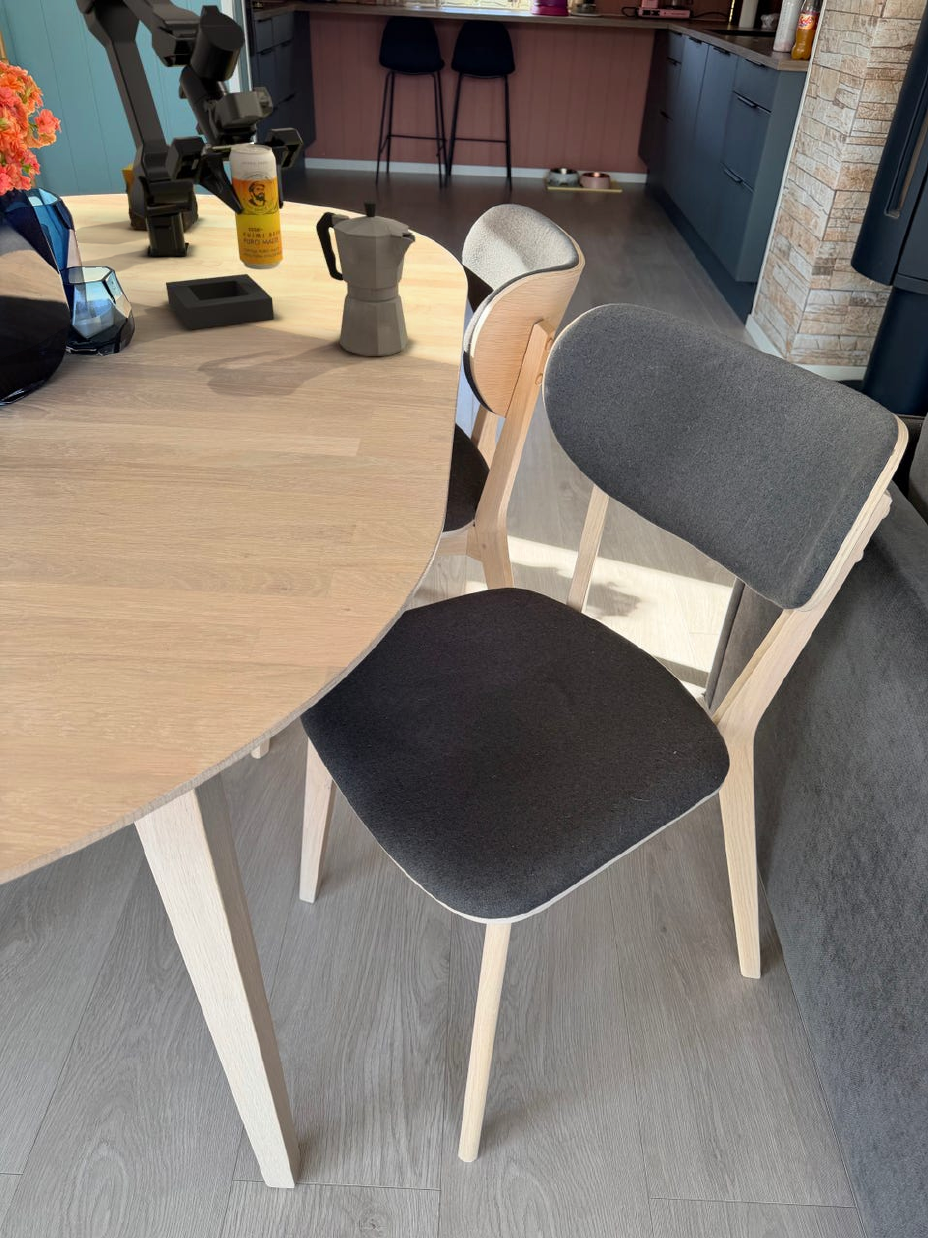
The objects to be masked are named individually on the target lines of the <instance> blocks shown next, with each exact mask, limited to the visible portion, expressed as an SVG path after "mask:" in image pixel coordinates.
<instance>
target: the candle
mask: <svg viewBox="0 0 928 1238" xmlns="http://www.w3.org/2000/svg"><path fill="white" fill-rule="evenodd" d="M133 164H134V161H133V162H131V163H130V164H128V166H126V167H124V168H122V169H121V172H122V177H123V180H124V183H125V193H126V195H127V203H128V217H129V221H130V227H131V228H132V229H134V230H137V231H138V230H139V231H148V230H147V224H146V218H143V217H141V216H139V215H137V214H135V213H133V211H132V208H131V204H130V201H129V197H130V193H131V189H132V186H133V182H134V175H133V171H132V168H133ZM191 181H192V180H191ZM192 184H193V182H192ZM198 204H199V203H198V201H197V196H196V192H195V185H194V184H193V204H192V212H183V213H181V219H182V226H183V232H186V231H188V230H189V229H191V227H192V226H193V225H194V224H195V223H196V222H197V221H198V220H199V205H198Z"/></svg>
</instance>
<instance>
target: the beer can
mask: <svg viewBox="0 0 928 1238" xmlns="http://www.w3.org/2000/svg"><path fill="white" fill-rule="evenodd" d="M228 163H229V171H230V182H231V184H232V186H233V188H234V190H235V192H236V194H237V196H238V198H239V201H240V204H241V206H242V209H243V211H242V214H241V215H238V214H237V213H236V212H234V219H235V228H236V237H237V238H236V239H237V247H238V248H237V249H238V255H239V256H238V258H239V260H240V262H242V263H243V265H244V267H246V268H248V269H251V270H252V269H253V270H259V271H260V270H271V269H276V268H277V267H279V266H280V265H281V262H282V261H283V260H284V255H283V242H282V228H281V216H280V209H279V201H278V187H277V174H276V161H275V156H274V154H273V152H272V149H271V148H270V147H268V146H263V145H238V146H234V147H232V148H231V153H230V156H229V162H228Z"/></svg>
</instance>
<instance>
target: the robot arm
mask: <svg viewBox="0 0 928 1238" xmlns="http://www.w3.org/2000/svg"><path fill="white" fill-rule="evenodd" d="M75 3H76V7H77V9H78V11H79V13H80V14H82V17H83V20H84V22H85V25H86V28H87V30H88V32H89V33H90V34H91V35H92V37H94V38H95V39H96V40H97V42H99V43H100V45H101V46H102V47H103V48H104V49H105V53H106V55H107V59H108V62H109V65H110V69H111V72H112V75H113V78H114V82H115V84H116V88H117V92H118V94H119V97H120V102H121V104H122V108H123V111H124V114H125V117H126V119H127V123H128V126H129V130H130V133H131V136H132V139H133V143H134V146H135V155H134V159H133V162H134V164H133V168H132V171H133V175H134V182H133V186H132V189H131V193H130V197H129V201H130V204H131V208H132V211H133V213H135V214H137V215H139V216H141V217H143V218H146V224H147V230H146V231H147V236H148V240H149V245H148V248H147V250H146V252H145V253H146V256H147V257H180V256H181V257H184V256H185V257H186V256H188V254H189V249H190V243H189V242H186V241H185V234H184V231H183V226H182V219H181V213H183V212H192V204H193V184H194V186H198V185H199V186H201V187H202V188H204V189H205V190H206V191H208V192H209V193H211V194H212V195H213V196H215V197H216V198H217V199H219V200H220V201H221V202H222V203H223V204H224V205H226V206H227V207H228V208H229V209H230V210H232V211H233V212H234V213H235V212H236V213H237V214H238V215H241V214H242V211H243V209H242V206H241V204H240V201H239V198H238V196H237V194H236V192H235V190H234V188H233V186H232V181H231V179H230V178H229V176H228V174H227V172H226V170H225V166H224V163H230V162H229V156H230V153H231V148H232V147H234V146H238V145H263V146H268V147H270V148H271V149H272V152H273V154H274V156H275V161H276V174H277V187H278V201H279V210H282V209H283V207H284V205H285V203H284V193H283V183H282V182H283V181H282V171H284V170H289V169H290V168H291V167H293V166H294V163H295V161H296V159H297V157H298V155H299V153H300V151H301V149H302V147H303V145H304V142H303V140H302V138H301V135H300V133H299V132H298V130H297V129H296V128H293V127H284V128H282V127H281V128H271V129H269V131H268V133H267V136H266V138H265V140H264V141H257V142H254V141H253V139H252V137H255V136H256V134H257V132H258V128H257V125H256V124H257V123H259V122H260V121H264V120H265V119H266V117H268V116H269V115H270V114H271V113H273V112H274V104H273V101H272V97H271V96H270V94H269V92H268V90H267V88H266V87H265V86H258V87H253V88H252V90H249V91H237V92H236V91H234V92H230V90H229V88H228V85H227V84H226V82H227V81H229V80H230V79H232V77H233V76H234V74H235V71H236V69H237V65H238V62H239V59H240V57H241V54H242V51H243V49H244V45H245V42H246V35H245V32H244V29H243V27H242V26H241V25H239V24H238V22H237V21H236V20H234V19H233V18H232V17H231V16H229V15H227V14H225V13H223V12H221V11H220V9H219V7H218V5H217V4H203V5H202V7H201V10H200V15H199V14H197V13H196V12H194V11H192V10H190V9H186V8H183V7H179V6H177V5H176V4H174V3H173V2H172V0H75ZM140 22H141V23H142V25H143V26H144V27H146V29H147V30H148V31H149V33H150V35H151V48H152V50H153V51H154V53H155V55H156V57H158V59H159V60H160V62H161V63H162V65H163V66H164V67H166V68H182V70H181V72H180V75H179V78H178V83H179V86H178V90H177V91H178V98H179V99H180V100H187V102H188V105H189V106H190V108H191V110H192V113H193V116H194V117H195V119H196V121H197V123H196V126H195V130H196V133H197V135H192V136H191V135H190V136H180V137H179V136H178V137H173V138H172V140H171V143H170V144H169V143H168V142H167V140H166V137H165V133H164V130H163V127H162V123H161V121H160V117H159V114H158V110H157V107H156V104H155V101H154V98H153V97H154V96H153V95H152V90H151V87H150V84H149V81H148V76H147V74H146V70H145V67H144V64H143V60H142V57H141V54H140V53H141V52H140V51H139V47H138V43H137V39H136V38H137V34H138V29H139V25H140ZM201 136H202V137H201ZM203 137H204V139H205V140H204V139H203ZM204 141H206V142H204ZM191 180H192V181H191ZM192 182H193V184H192Z"/></svg>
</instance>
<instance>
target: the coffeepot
mask: <svg viewBox="0 0 928 1238" xmlns="http://www.w3.org/2000/svg"><path fill="white" fill-rule="evenodd" d="M363 206H364V209H365V215H363V216H357V217H351V218H350V217H349V215H346V214H341V213H335V212H331V211H325V212H324V213H323V214H322V215H321V217H320V218H319V220H318V221H317V223H316V225H315V231H316V235H317V238H318V240H319V243H320V246H321V250H322V254H323V257H324V261H325V264H326V267H327V270H328V273H329V276H330V278H332V279H334V280H336V281H340V282H342V281H344V282H345V283H346V289H347V293H346V295H345V297H344V302H343V309H342V318H341V319H342V320H341V327H340V336H339V345H340V346H341V347H342V348H343V349H344V350H345V351H347V352H348V353H351V354H354V355H358V356H363V357H364V356H365V357H384V356H391V355H395V354H399V353H400V352H402V351H404V349H405V348H406V347H407V344H408V342H409V338H408V332H407V331H408V330H407V325H406V319H405V314H404V307H403V303H402V297H401V295H400V294H399V284H400V282H401V280H402V278H403V271H404V263H405V257H406V254H407V251H408V250H409V248H410V247H411V245H412V244H413V243H415V242H416V240H417V239H416V235H414V234H413V233H412V232H411V231H409V225H408V224H405V223H403V222H400V221H398V220H396V219H395V218H394V219H393V218H388V217H383V216H379V215H376V214H377V207H378V201H374V200H372V199H367V200H366V201H364V202H363ZM330 229H333V232H334V238H335V243H336V248H337V254H338V259H339V260H338V261H339V265H340V271H341V272H340V271H339V270H338V269H337V258H336V254H335V251H334V249H333V244H332V237H331V234H330V233H331V232H330Z"/></svg>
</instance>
